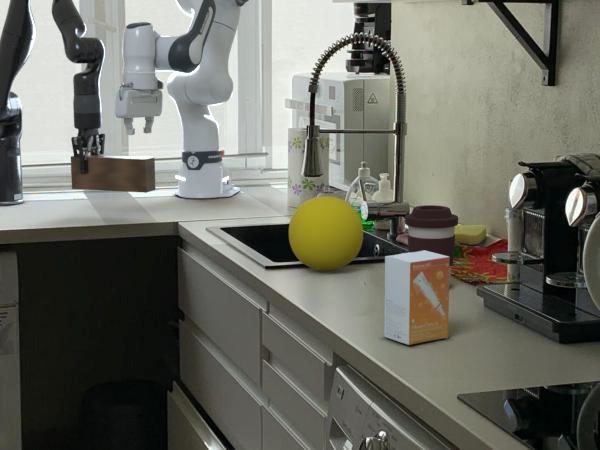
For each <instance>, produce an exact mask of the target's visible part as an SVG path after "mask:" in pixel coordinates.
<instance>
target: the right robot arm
mask: <svg viewBox="0 0 600 450" xmlns="http://www.w3.org/2000/svg"><path fill="white" fill-rule="evenodd" d="M249 1H250V0H175V2H176V5H177V6H178V8H179V9H180V11H182V13H183V14H185V15H186V16H187V17H190V18H192V19H191V21H190V24H189V27H188V29H187V31H186V32H185V33H183V34H180V35H162V34H160V33H158V32H157V31H156V30H155V29H154V26H153V23H151V22H148V21H147V22H146V21H139V22H131V23H129V24H127V25H125V27H124V29H123V34H122V43H121V44H122V45H121V56H122V59H123V67H122V73H121V74H122V78H121V79H122V81H121V82H122V83H121V84H120V86H119V87H118V91H117V92H116V95H115V108H114V115H115V117H116V118H117V119H123V124H124V127H125V129H126V130H125V131H126V132H125V133H126V135H127V136H135V134H136V128H135V127H134V124H133V123H134V119H136V118H139V119H140V118H144V121H145V123H144V126H143V129H142V131H143V134H152V132H153V131H152V129H153V125H154V122H155V117H161V116H162V113H163V105H164V104H163V103H164V99H163V92H162V90H164V82H163V80H161V79H159V78H158V76H156V72H173V73H171V74H170V75H169V77H168V79H167V82H166V91H167V94H168V96H169V98H170V99H172V101H173V102H174V104H175V106H176V109H177V112H178V116H179V118H180V123H181V130H182V150H181V162H182V164H181V166H180V167H179V169H178V175H175V176H174V177H175V179H177V190H175V191H174V195H175V196H179V197H181V198H185V199H186V198H187V199H214V198H229V197H232V196H234V195H235V194H237V193H239V192H240V187H237V186H233V176H232V172H231V171H230V170H229V169H228V168H227V166H226V165H225V164H224V163H223V157H225V155H226V151H225V150H224V149H220V129H219V124H218V122H217V121H216V120H215V119H214V117H213V115H212V112H211V110H210V107H209V106H218V105H222V104H225V103H226V102H228V101H229V100H230V99H231V98H232V96H233V93H234V88H235V87H234V81H233V79H232V77H231V75H230V72H229V59H230V53H231V50H232V46H233V43H234V39H235V37H236V33H237V30H238V26H239V22H240V17H241V8H242V7H243V6H244V5H245V4H246V3H247V2H249Z"/></svg>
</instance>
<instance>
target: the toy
mask: <svg viewBox="0 0 600 450" xmlns="http://www.w3.org/2000/svg"><path fill="white" fill-rule="evenodd" d="M288 241H289V245H290V248H291V250H292V252H293V254H294V256H295V257H296V258H297V259H298V261H299V262H300V263H302V264H303V265H305V266H306V267H308V268H310V269H313V270H317V271H333V270H338V269H341V268H344V267H345V266H347V265H349V264H350V263H351V262H353V260H354V259H355V258H356V257H358V255H359V253H360V251H361V249H362V245H363V241H364V226H363V222H362V219H361V216H360V214H359V213H358V211H357V209H356V208H355V207H354V206H353V205H352V204H351V203H349V202H347V201H346V200H344V199H342V198H339V197H335V196H328V195H327V196H326V195H323V196H316V197H313V198H310V199H308V200H306V201H304V202H303V203H301V204H300V205H299V206H298V207H297V208H296V209H295V211H294V212H293V214H292V216H291V218H290V221H289V225H288Z"/></svg>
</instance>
